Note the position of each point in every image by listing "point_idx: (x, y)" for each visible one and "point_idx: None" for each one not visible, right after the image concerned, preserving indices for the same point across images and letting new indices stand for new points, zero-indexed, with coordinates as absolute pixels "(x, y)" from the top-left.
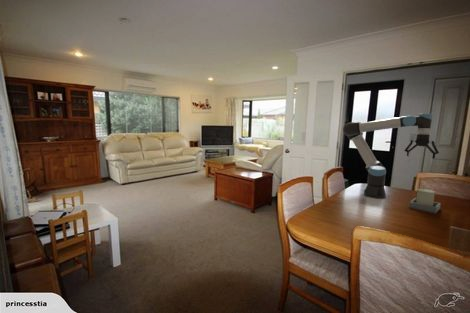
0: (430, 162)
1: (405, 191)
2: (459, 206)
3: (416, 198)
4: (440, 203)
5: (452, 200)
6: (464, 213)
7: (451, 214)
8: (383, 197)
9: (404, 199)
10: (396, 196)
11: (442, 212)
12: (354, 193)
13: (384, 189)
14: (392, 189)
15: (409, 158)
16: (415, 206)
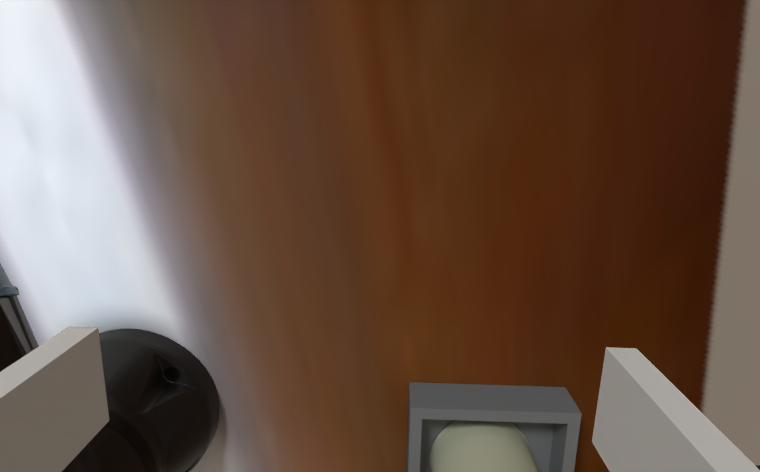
0: (602, 450)
1: (260, 10)
2: (688, 196)
3: (423, 414)
4: (580, 417)
5: (651, 12)
6: (701, 369)
7: None
8: (213, 436)
9: (333, 332)
10: (262, 289)
11: (581, 455)
12: None
13: (174, 439)
14: (145, 35)
15: (63, 436)
16: None
